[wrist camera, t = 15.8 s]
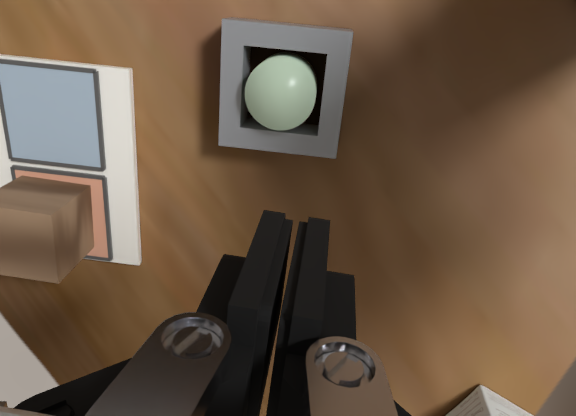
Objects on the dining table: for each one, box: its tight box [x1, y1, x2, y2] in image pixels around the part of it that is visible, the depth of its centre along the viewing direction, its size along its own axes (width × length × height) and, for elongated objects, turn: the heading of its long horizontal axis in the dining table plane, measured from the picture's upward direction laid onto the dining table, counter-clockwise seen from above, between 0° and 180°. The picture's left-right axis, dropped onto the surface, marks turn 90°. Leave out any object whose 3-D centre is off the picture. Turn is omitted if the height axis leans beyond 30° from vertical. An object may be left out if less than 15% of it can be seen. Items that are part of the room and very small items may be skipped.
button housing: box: [218, 17, 353, 159], centre depth 31 cm, size 8×8×3 cm
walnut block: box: [0, 175, 94, 284], centre depth 35 cm, size 6×6×6 cm
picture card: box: [0, 54, 142, 266], centre depth 36 cm, size 16×12×1 cm
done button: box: [245, 52, 318, 130], centre depth 30 cm, size 4×4×4 cm
